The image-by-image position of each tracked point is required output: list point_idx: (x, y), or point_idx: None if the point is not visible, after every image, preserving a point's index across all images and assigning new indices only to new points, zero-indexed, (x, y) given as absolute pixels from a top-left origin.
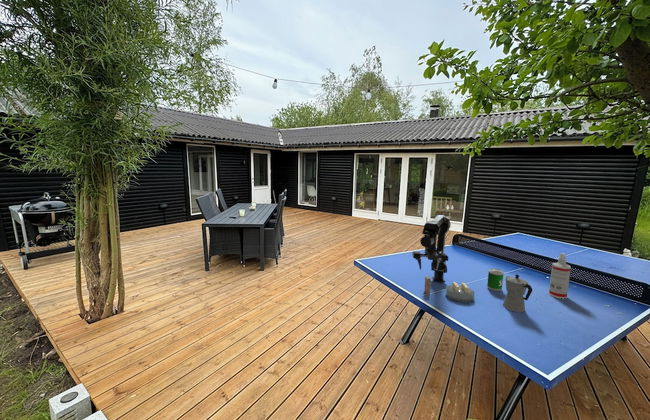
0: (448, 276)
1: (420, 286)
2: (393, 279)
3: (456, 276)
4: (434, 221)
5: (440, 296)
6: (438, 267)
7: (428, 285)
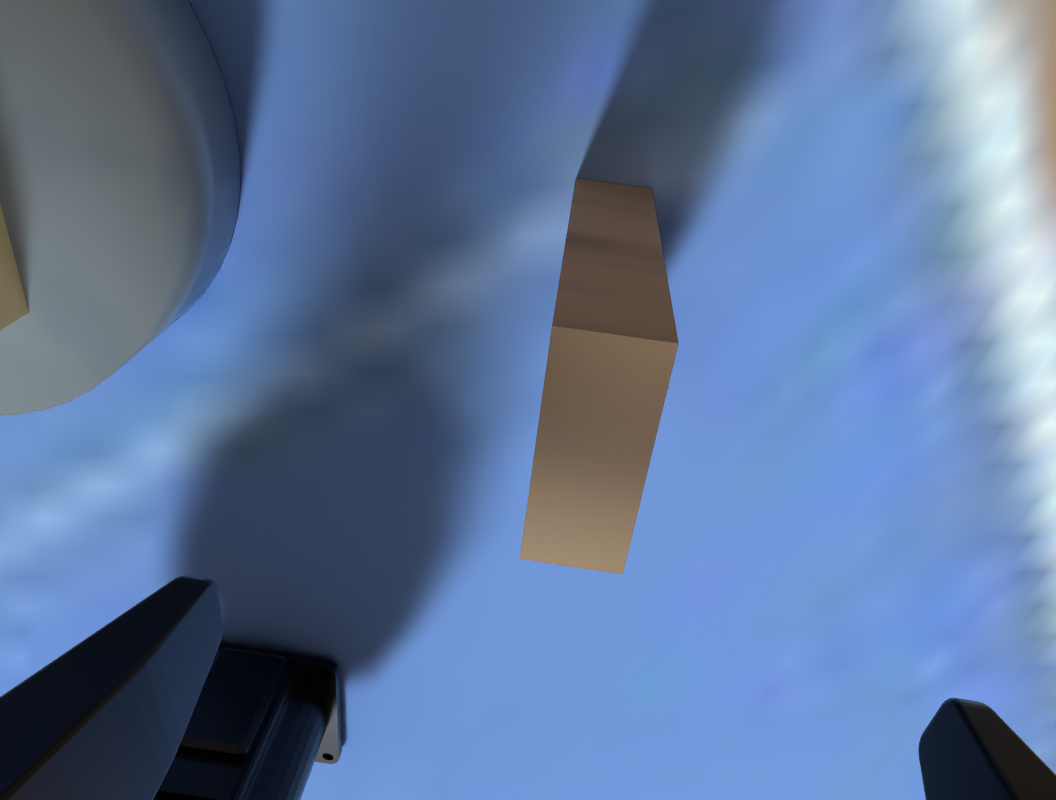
0: None
1: None
2: None
3: None
4: None
5: (370, 89)
6: (27, 733)
7: (613, 255)
